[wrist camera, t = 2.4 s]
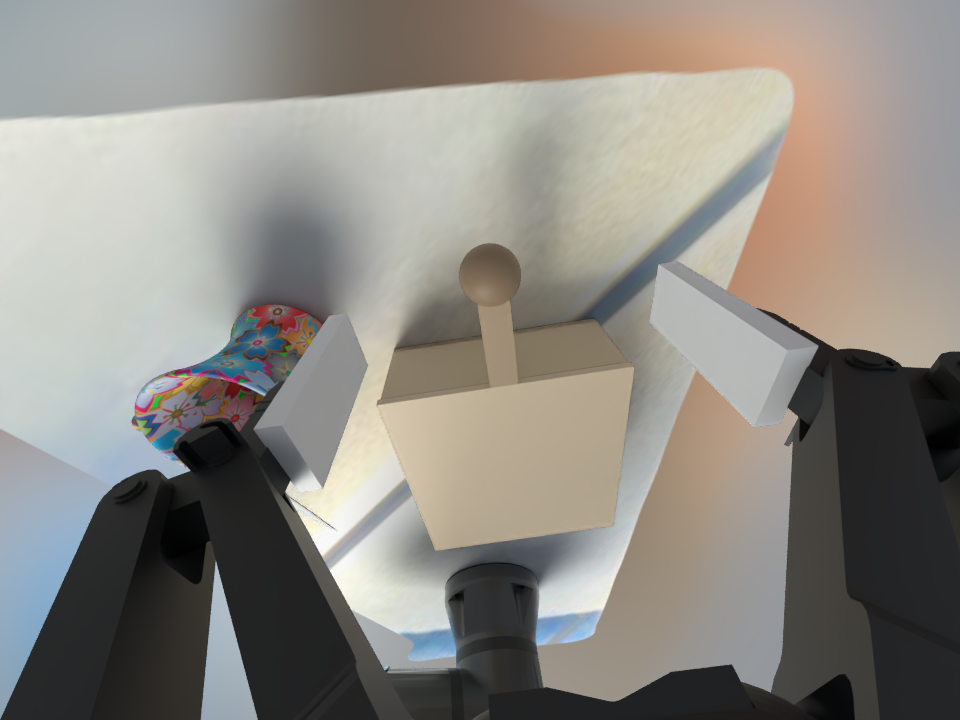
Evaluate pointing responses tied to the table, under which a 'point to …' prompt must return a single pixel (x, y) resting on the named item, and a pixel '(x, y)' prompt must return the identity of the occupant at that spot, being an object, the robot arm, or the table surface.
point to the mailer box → (467, 360)
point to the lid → (511, 434)
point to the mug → (226, 377)
